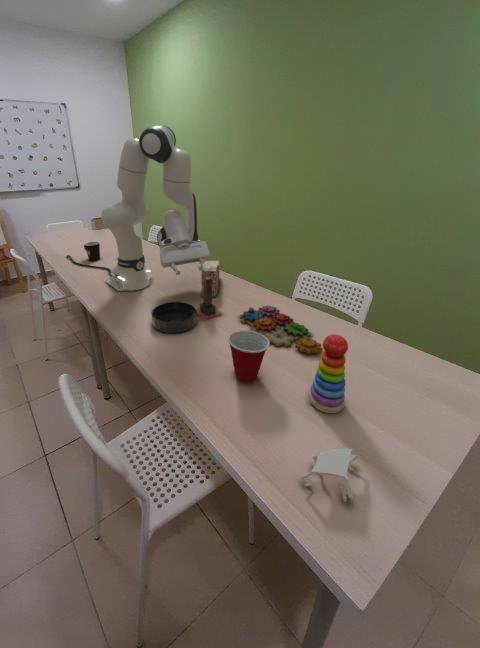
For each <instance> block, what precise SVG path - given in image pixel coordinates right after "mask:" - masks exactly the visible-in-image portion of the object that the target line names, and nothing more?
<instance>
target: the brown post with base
mask: <svg viewBox="0 0 480 648" xmlns="http://www.w3.org/2000/svg"><path fill="white" fill-rule="evenodd" d="M202 298H203V299H202V300H203V301H202V303H199V308H200V311H201V312H203V313H204V314H205V315H206V316H208V315H211V314H214V313H216V310H217V309H216V308H217V307H216V305H214V304H213V297H212V279H211V278H210V277H205V278H203V297H202Z"/></svg>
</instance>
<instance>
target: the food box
mask: <svg viewBox="0 0 480 648" xmlns="http://www.w3.org/2000/svg"><path fill="white" fill-rule="evenodd" d="M200 274H201V297H202V298H203V278H205V277H210V278H211V279H212V298H216V297H217V294H218V290H219V283H220V260H205V261H203V270H201V272H200Z"/></svg>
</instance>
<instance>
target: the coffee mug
mask: <svg viewBox="0 0 480 648" xmlns="http://www.w3.org/2000/svg"><path fill="white" fill-rule="evenodd" d="M100 247H101V246H100V242H99V241H89V242H85V243H84V244H83V249H84V251H86V255H87V258H88V261H89V262H97V261H100V260H101V249H100Z"/></svg>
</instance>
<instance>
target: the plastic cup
mask: <svg viewBox="0 0 480 648" xmlns="http://www.w3.org/2000/svg"><path fill="white" fill-rule="evenodd" d="M227 342H228V344H229V347H230V351H231V358H232V366H233V369H234V375H235V378H236V380H237V381H239V382H242V383H244V384H249V383H253V382H256V380H257V378H258V375H259V371H260V369H261V366H262V363H263V359H264V356H265V355H266V352H267V350H268V349H269V347H270V344H271V343H270V342H269V340H268V339H267V337H265V336H264V335H262V334H260V333H259V332H254V331H252V330H248V329H243V330H236V331H233V332H231V333H230V334H228V336H227Z"/></svg>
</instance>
